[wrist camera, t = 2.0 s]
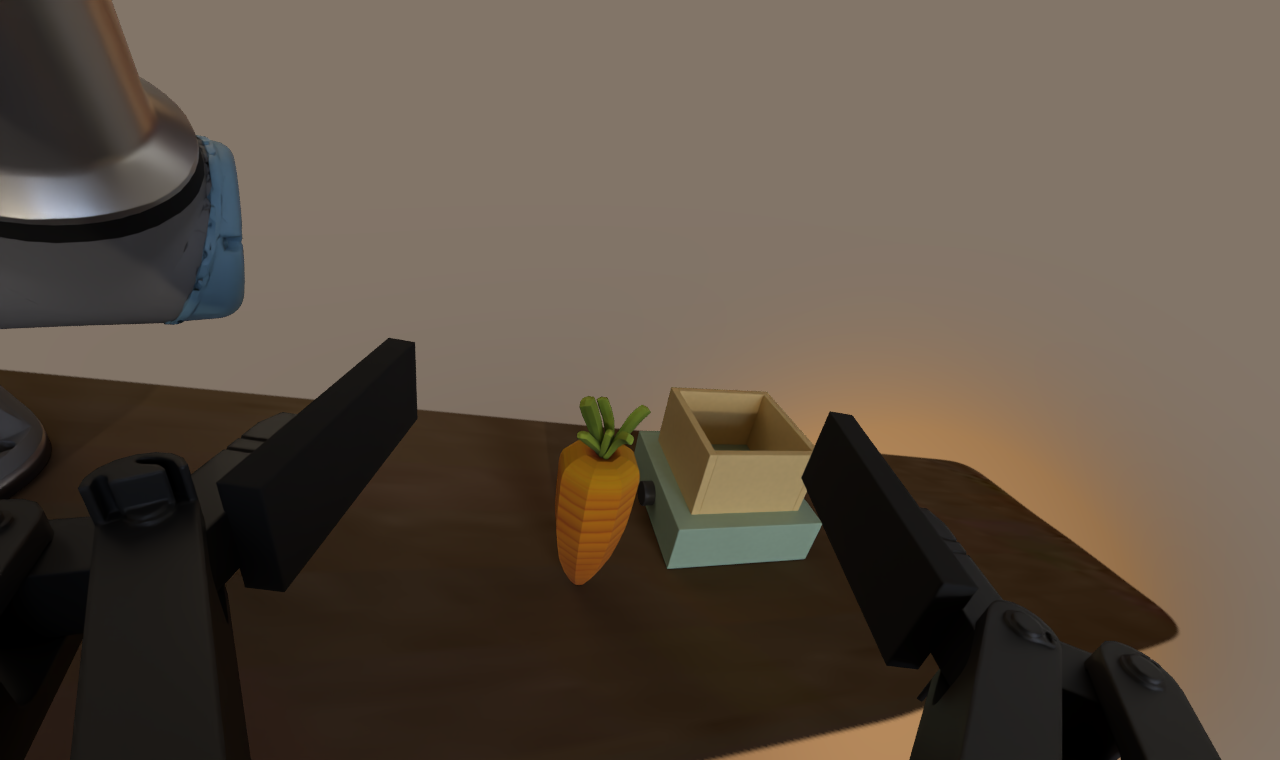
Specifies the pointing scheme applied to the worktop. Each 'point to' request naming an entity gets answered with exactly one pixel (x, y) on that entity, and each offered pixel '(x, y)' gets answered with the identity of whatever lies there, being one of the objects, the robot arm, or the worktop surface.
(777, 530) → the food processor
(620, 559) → the worktop surface
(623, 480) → the carrot
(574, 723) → the worktop surface
